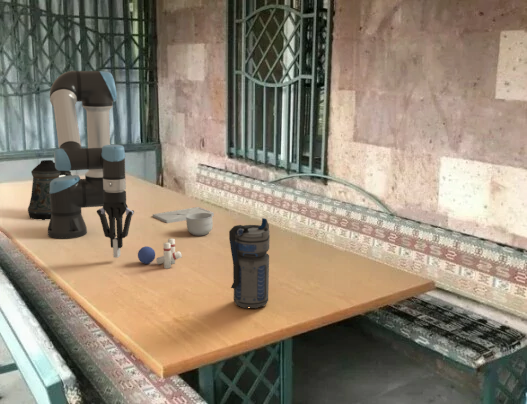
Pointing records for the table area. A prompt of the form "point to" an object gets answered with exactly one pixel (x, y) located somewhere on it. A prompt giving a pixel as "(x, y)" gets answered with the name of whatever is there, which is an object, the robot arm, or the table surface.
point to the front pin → (173, 257)
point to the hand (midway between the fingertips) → (117, 256)
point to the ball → (146, 255)
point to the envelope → (179, 214)
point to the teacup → (199, 223)
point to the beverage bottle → (250, 264)
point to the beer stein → (43, 189)
